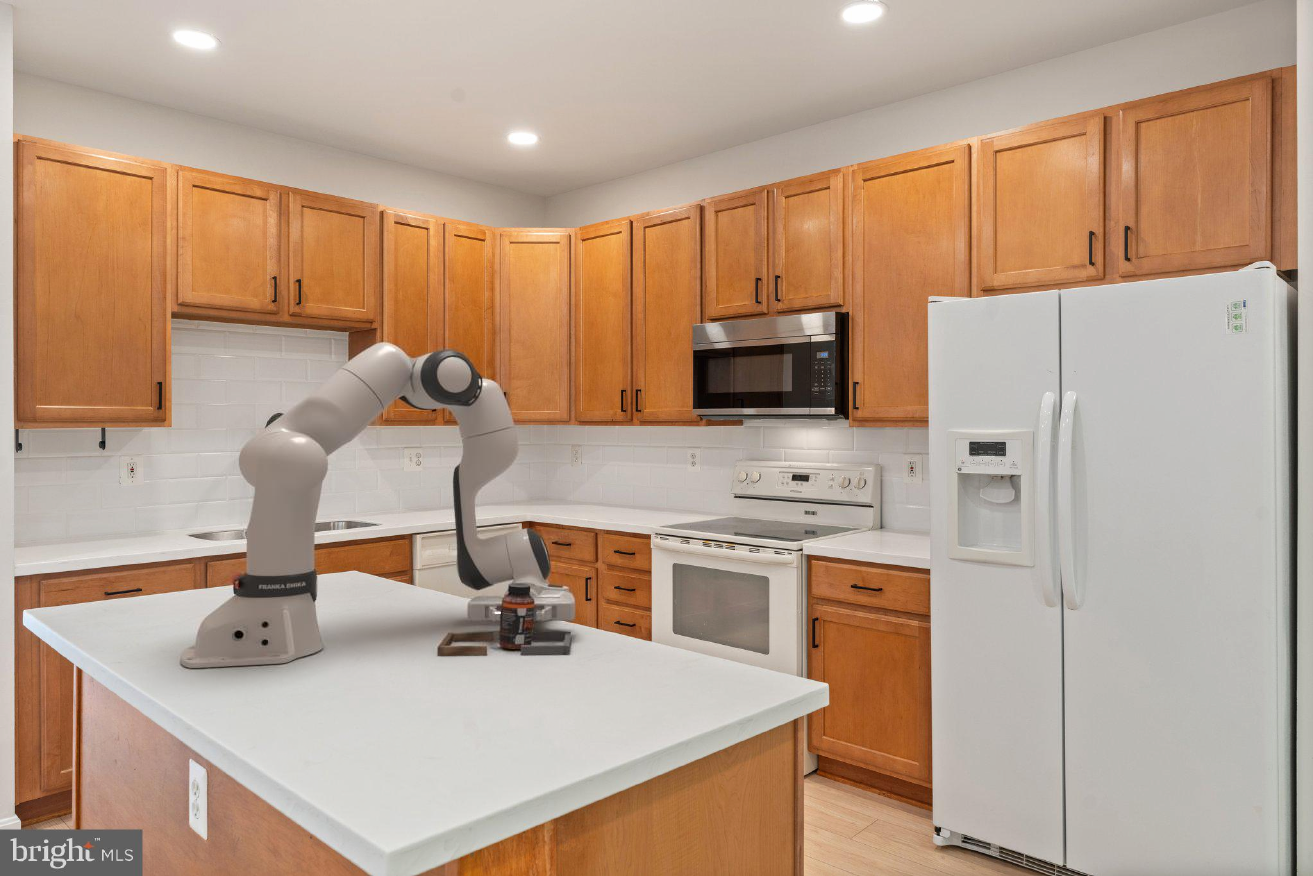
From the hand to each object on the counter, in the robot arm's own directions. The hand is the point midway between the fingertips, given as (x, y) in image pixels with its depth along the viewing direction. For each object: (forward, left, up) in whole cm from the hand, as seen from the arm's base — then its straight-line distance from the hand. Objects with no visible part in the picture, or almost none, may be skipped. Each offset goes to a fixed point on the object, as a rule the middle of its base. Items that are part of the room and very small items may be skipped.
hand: (518, 617), depth 153 cm
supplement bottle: (0, +1, -6) cm, 6 cm away
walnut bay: (-8, +4, -6) cm, 11 cm away
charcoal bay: (+5, -1, -6) cm, 8 cm away
